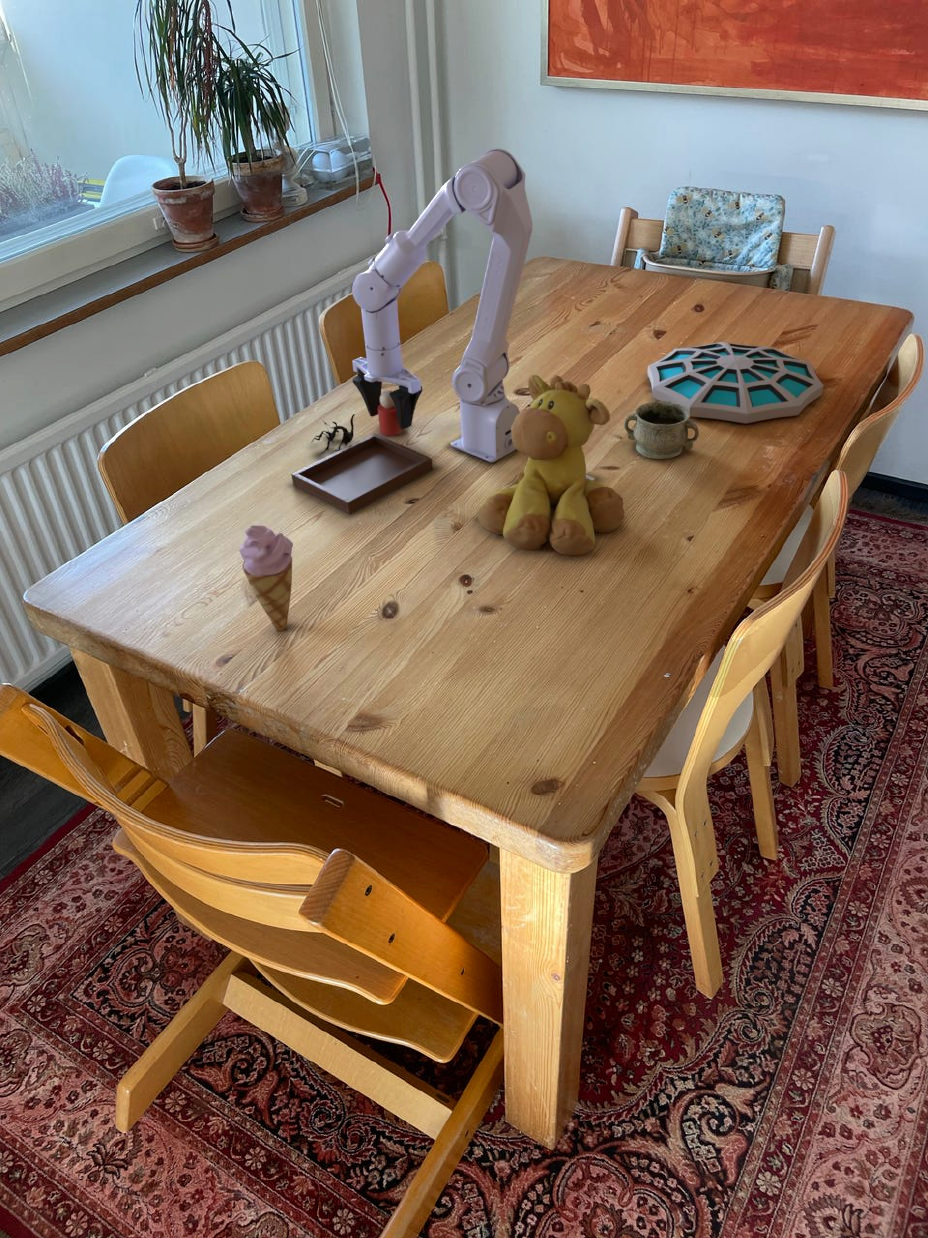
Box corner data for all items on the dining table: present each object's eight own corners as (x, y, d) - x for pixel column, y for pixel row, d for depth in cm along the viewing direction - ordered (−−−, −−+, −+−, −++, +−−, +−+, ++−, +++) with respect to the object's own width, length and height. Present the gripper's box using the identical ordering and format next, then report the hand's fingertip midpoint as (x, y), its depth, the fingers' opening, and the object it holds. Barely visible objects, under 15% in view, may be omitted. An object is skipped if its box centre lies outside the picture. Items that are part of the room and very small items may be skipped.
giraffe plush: (462, 544, 132) (455, 419, 121) (517, 465, 149) (515, 349, 138) (603, 570, 126) (610, 441, 114) (643, 484, 143) (654, 364, 131)
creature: (307, 462, 156) (351, 455, 153) (296, 433, 153) (340, 426, 150) (322, 440, 162) (364, 433, 159) (311, 412, 159) (354, 404, 156)
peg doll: (408, 429, 161) (404, 390, 157) (391, 437, 159) (387, 398, 154) (392, 422, 163) (388, 383, 159) (375, 431, 161) (370, 391, 157)
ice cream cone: (260, 612, 122) (237, 513, 113) (307, 607, 122) (289, 509, 113) (255, 644, 117) (231, 543, 108) (305, 640, 117) (286, 539, 108)
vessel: (616, 455, 151) (618, 419, 147) (629, 431, 157) (632, 395, 153) (690, 466, 147) (695, 429, 143) (701, 440, 153) (706, 405, 149)
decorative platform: (627, 411, 163) (629, 384, 160) (664, 347, 184) (666, 322, 181) (812, 434, 153) (818, 406, 150) (829, 364, 174) (834, 338, 171)
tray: (433, 469, 150) (432, 457, 148) (349, 514, 140) (347, 502, 139) (375, 444, 157) (374, 433, 156) (293, 485, 148) (291, 473, 146)
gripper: (334, 340, 154) (345, 416, 162) (395, 362, 145) (402, 441, 154) (367, 327, 157) (375, 402, 166) (427, 348, 149) (433, 426, 158)
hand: (390, 420), depth 160 cm, fingers open, 7 cm apart
